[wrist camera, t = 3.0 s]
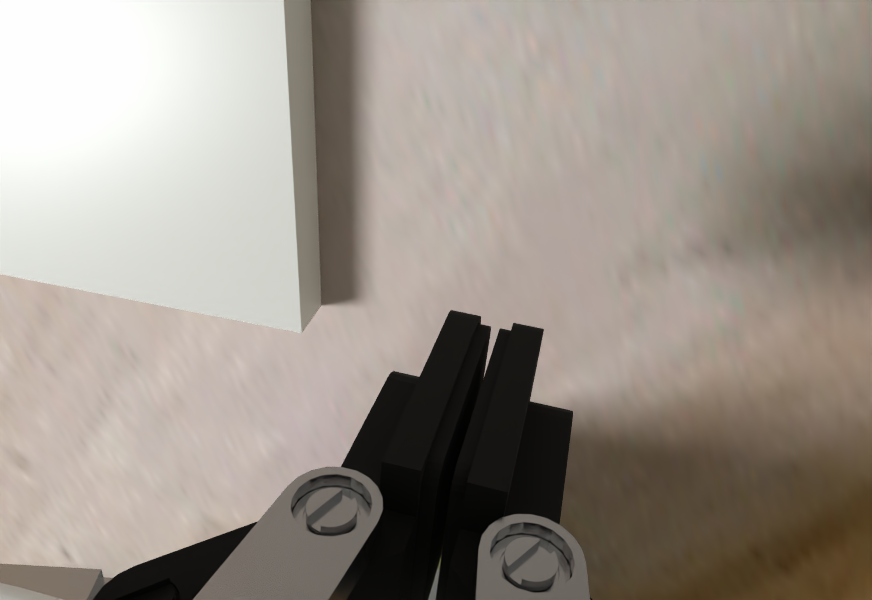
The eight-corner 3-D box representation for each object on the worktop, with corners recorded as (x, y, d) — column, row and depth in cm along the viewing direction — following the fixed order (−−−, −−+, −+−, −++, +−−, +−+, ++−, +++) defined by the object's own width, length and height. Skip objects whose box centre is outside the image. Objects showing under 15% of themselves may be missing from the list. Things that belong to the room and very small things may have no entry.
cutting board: (-249, -95, 19) (-336, -92, 17) (319, -38, 16) (281, -27, 14) (-123, 212, 23) (-181, 238, 22) (328, 296, 21) (301, 333, 19)
